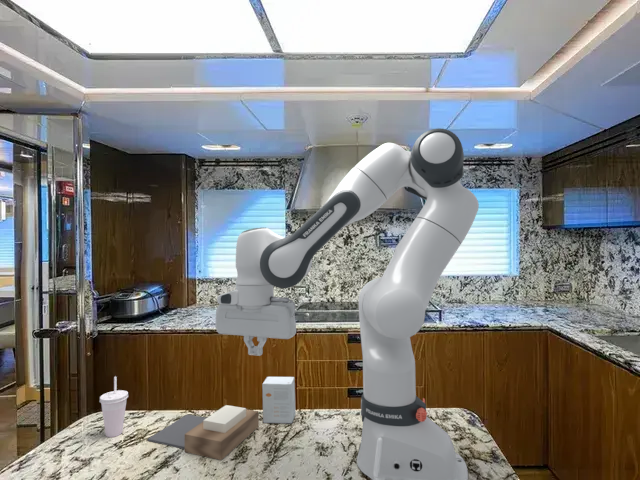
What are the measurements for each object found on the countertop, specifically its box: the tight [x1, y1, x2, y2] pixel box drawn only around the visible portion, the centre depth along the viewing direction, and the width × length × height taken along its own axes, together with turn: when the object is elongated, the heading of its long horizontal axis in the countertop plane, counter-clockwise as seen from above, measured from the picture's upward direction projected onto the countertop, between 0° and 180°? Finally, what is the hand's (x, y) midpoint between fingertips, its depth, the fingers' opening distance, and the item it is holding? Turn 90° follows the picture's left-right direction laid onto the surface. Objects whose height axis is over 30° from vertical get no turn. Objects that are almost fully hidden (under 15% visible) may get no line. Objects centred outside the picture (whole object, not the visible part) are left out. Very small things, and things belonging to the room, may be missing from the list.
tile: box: [203, 404, 247, 433], centre depth 90 cm, size 6×9×2 cm, turn 159°
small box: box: [262, 376, 296, 424], centre depth 100 cm, size 8×6×10 cm
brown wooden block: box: [184, 408, 260, 461], centre depth 90 cm, size 10×16×4 cm, turn 159°
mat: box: [147, 414, 207, 450], centre depth 94 cm, size 12×14×1 cm
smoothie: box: [98, 376, 129, 438], centre depth 94 cm, size 6×6×14 cm
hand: (255, 354), depth 87 cm, fingers closed
